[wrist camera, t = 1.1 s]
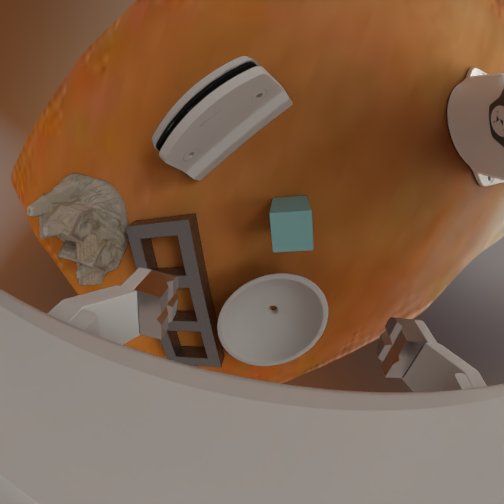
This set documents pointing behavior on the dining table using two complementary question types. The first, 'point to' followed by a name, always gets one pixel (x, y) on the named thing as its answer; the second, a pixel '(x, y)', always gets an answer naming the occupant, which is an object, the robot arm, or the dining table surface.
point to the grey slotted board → (189, 278)
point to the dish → (272, 319)
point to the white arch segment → (219, 116)
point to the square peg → (291, 224)
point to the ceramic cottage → (85, 224)
